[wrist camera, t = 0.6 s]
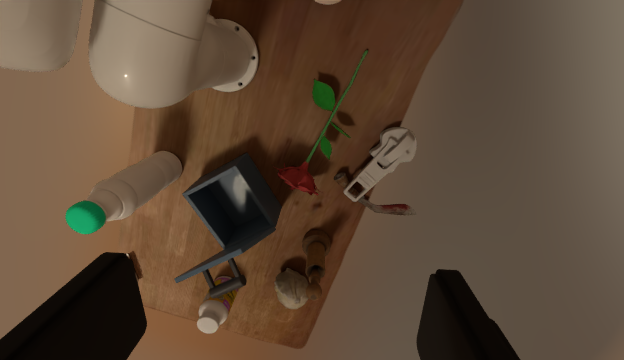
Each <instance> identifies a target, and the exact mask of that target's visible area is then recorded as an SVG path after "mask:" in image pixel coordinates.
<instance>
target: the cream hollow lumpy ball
mask: <svg viewBox="0 0 624 360" xmlns="http://www.w3.org/2000/svg"><path fill="white" fill-rule="evenodd" d="M307 286H308V282H307V279H306V278H305V277H304V276H302V275H300V274H299V273H298V272H297V271H293V270H291V269H289V268H286V271H285V272H282V273H280V274H278V275H277V277H276V281H275V291H277V297H278V299H279V301H280V302H281V303H282V305H284V306H285V307H286V308H289V309H297V308H299V307H301V306H303V305H304V304H305V303H306V301H307V300H308V299H309V298H308V297H307V296H306V288H307Z"/></svg>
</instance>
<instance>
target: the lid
mask: <svg viewBox="0 0 624 360" xmlns="http://www.w3.org/2000/svg"><path fill="white" fill-rule="evenodd" d="M275 230H276V228H275V226H274V227H272V228H270V229H268V230H265V231H263V232H261V233H259V234H257V235H255V236H252V237H250V238H248V239H246V240H244V241H242V242H240V243H237V244H235V245H233V246H231V247H229V248H227V249H225V250H223V251H221V252H219V253H217V254H216V255H214V256H212V257H211V258H209V259H207V260H205V261H204V262H202V263H200V264H199V265H197V266H195V267H193V268H192V269H190V270H188V271H187V272H185V273H183V274H181V275H180V276H178V277H176V278H175V281H176V283H178V282H180V281H183V280H185V279H187V278H189V277H191V276H194V275H196V274H198V273H200V272H203V274H204V276H205V279H206V281H207V283H208V285H209V287H210V290H209V295H210V297H211V298H213V299H214V298H217V297H219V296H221V295H224V294H226V293H229V292H231V291H233V290H236V289H238V288H240V287H243V286H245V285H246V278H245V276H244V275H242V274H240V271H239V269H238V267H237V265H236V263H235V261H234V259H233V257H235V256H237V255H240V254H242V253H244V252H245V251H246V250H248V249H249V248H251V247H252V246H254V245H255V244H257V243H258V242H259V241H261V240H262V239H264V238H265V237H267V236H268V235H270V234H271V233H272V232H274V231H275ZM227 260H228V262H229V264H230V266H231V268H232V271H233V273H234V275H235V277H234V278H232V279H230V280H227V281H225V282H223V283H220V284H218V285H215V283H214V281H213V279H212V277H211V275H210V272H209V270H208V269H209V268H211V267H213V266H216V265H218V264H220V263H222V262H224V261H227Z"/></svg>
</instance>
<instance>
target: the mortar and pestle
mask: <svg viewBox="0 0 624 360" xmlns="http://www.w3.org/2000/svg"><path fill="white" fill-rule="evenodd" d="M302 248H303V251H304V253H305V254H306V255H307V262H306V271H305V272H306V275H307V277H309V282H310V284H309V285H308V286H307V288H306V296H307V297H308V298H309V299H310V300H317V299H319V298H320V296H321V294H322V289H321V287H320V285H319V283H320V278H322V277H323V276H324V274H325V256H326V255H327V254H328V253H329V251H330V239H329V237H328V235H327V234H326V233H325V232H323V231H320V230H312V231H309V232H308V233H307V234H306V235H305V236H304V238H303V244H302Z"/></svg>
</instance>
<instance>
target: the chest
mask: <svg viewBox="0 0 624 360" xmlns="http://www.w3.org/2000/svg"><path fill="white" fill-rule="evenodd" d="M183 196H184V197H185V198H186V200H187V201H188V202H189V204H190V205H191V206H192V208H193V209H194V210H195V212H196V213H197V215H198V216H199V217H200V219H201V220H202V221H203V223H204V224H205V225H206V227H207V228H208V229H209V231H210V232H211V233H212V235H213V236H214V237H215V239H216V240H217V241H218V243H219V244H220V245H221V247H222V248H223V249H224V250H225V249H227V248H229V247H231V246H233V245H235V244H237V243H240V242H242V241H244V240H246V239H248V238H250V237H252V236H255V235H257V234H259V233H261V232H263V231H265V230H268V229H270V228H272V227H274V226H275V227H276V224H277V221H278V218H279V215H280V211H281V208H282V207H281V205H280V203H279V202H278V200H277V199H276V197H275V196H274V194H273V192H272V191H271V189H270V188H269V186H268V184H267V183H266V181H265V180H264V178H263V177H262V175H261V173H260V172H259V170H258V169H257V167H256V166H255V164H254V162H253V161H252V159H251V158H250V156H249V155H248V153H245V154H243V155H241V156H240V157H238V158H236V159H234V160H232V161H230V162H228V163H227V164H225V165H223V166H221V167H219V168H217V169H216V170H214V171H212V172H210V173H208V174H206V175H204V176H203V177H201V178H199V179H198V180H197V181H196V182H195V183H194V184H193V185H192V186H190V187H189V188H188V189H187V190H186V191H185V192H184V193H183Z"/></svg>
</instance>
